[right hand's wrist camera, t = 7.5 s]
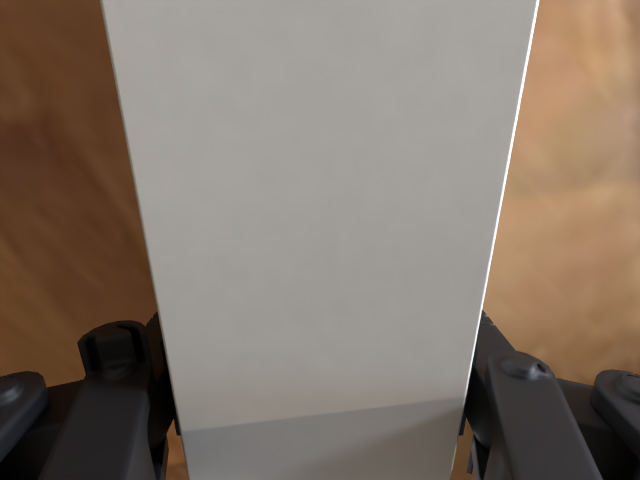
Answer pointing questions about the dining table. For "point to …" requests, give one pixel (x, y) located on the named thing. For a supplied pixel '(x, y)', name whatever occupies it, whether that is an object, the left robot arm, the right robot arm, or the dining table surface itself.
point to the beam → (319, 219)
